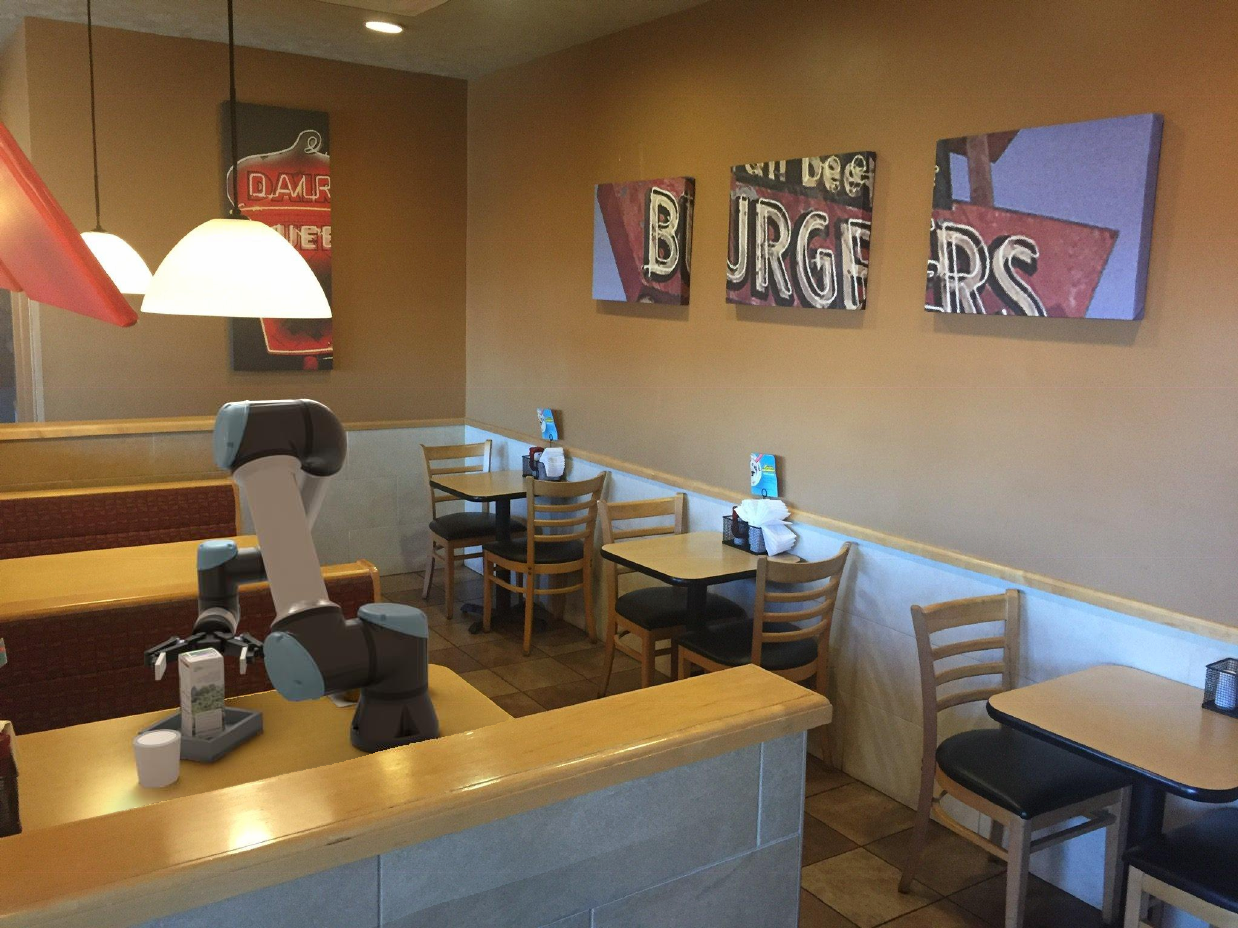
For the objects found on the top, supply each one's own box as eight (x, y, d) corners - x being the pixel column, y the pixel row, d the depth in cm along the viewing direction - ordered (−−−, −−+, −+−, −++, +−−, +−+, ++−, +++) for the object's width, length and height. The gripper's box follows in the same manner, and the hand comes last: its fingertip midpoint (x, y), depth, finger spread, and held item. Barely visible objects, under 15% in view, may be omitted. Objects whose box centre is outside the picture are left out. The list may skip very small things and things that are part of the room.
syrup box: (214, 725, 177) (211, 645, 175) (226, 736, 173) (223, 654, 171) (180, 733, 173) (177, 652, 171) (192, 744, 169) (188, 661, 167)
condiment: (382, 699, 193) (381, 639, 192) (338, 708, 189) (337, 646, 187) (369, 688, 199) (368, 629, 198) (326, 696, 195) (325, 635, 193)
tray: (263, 730, 178) (262, 711, 177) (211, 763, 164) (210, 742, 164) (195, 720, 181) (194, 702, 181) (139, 752, 168) (138, 731, 168)
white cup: (162, 792, 154) (160, 748, 153) (124, 786, 156) (122, 742, 155) (192, 773, 161) (190, 731, 160) (156, 767, 163) (154, 726, 162)
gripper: (282, 646, 198) (277, 684, 178) (144, 655, 192) (122, 696, 171) (281, 609, 197) (276, 643, 177) (142, 617, 191) (120, 653, 170)
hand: (200, 669), depth 174 cm, fingers open, 13 cm apart
